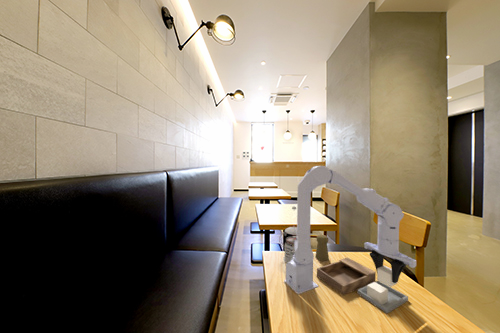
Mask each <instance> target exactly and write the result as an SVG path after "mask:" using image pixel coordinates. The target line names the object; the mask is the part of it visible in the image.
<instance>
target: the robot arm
mask: <svg viewBox="0 0 500 333" xmlns="http://www.w3.org/2000/svg"><path fill="white" fill-rule="evenodd" d="M327 183H328V184H332V185H333V184H334V185H338V186H339V187H340V188H342V189H344V190H345V191H347V192H349V193H350V194H352V195H354V196H355V197H356V201H357V203H360V204H361V205H363V206H364V207H365V208H367V209H369V210H370V211H372V212H373V213H375V214H376V215H377V242H376V243H377V244H375V243H372V242H370V241H369V242H368V241H367V242H364V244H363V245H364V246H363V247H364V249H366V250H370V251H371V252H370V253H369V256H370V257H371V260H372V262H373V263H374V267H375V272H377V268H379V267H382V266H384V262H385V257H387V258H390V259H392V261H390V262H389V263H390V267H391V269H392V282H393V283H396V282H397V283H399V279H400V275H401V273H402V272H403V270H404V269H405V268H406V267H407V266H408V267H409V268H412V269H414V268H416V267H417V260H416V259H414V258H412V257H409V256H408V255H406V254H405V253H404V254H403V253H401V252H400V251H399V250H400V249H399V248H400V247H399V246H400V222H401V221H402V219H403V218H404V217H405V213H404V212H403V210H402V208H401V207H400V206H399V204H395V203H393V202H390V199H389V198H387V197H383V196H382V195H381V194H378V193H377V190H375V189H373V188H369V187H365V188H363V187H360V186H359V185H357V184H355V183H354V182H352V180H350V179H348V178H347V177H345V176H344V175H342V174H341V173H339V172H337V171H335V170H333V169H330V168H328V166H325V165H314V166H312V167H311V168H310V169H308V170H307V171H306V172H305V174H304V176H303V177H302V178H301V180H300V181H299V182H298V184H297V194H296V196H297V199H296V200H297V204H296V205H297V206H296V212H297V213H296V214H297V215H296V222H297V223H296V228H297V235H295V236H296V240H295V241H294V245H293V246H294V248H295V254H294V255H293V259H292V260H291V261H290V262H288V263H286V264H285V279H284V283H285V284H287V285H288V286H289V287H290V288H291V289H292V290H293V291H294V292H295V293H296V294H298V295H300V294H303V293H306V292H307V291H310V290H314V289H316V288H318V287H319V285H318V284H317V283H316V282H314V257H315V255H314V252H313V249H312V241H311V197H312V196H311V194H312V192H313V191H314V190H315V189H316V188H318V187H320V186H323V185H326V184H327Z"/></svg>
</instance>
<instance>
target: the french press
mask: <svg viewBox="0 0 500 333" xmlns="http://www.w3.org/2000/svg"><path fill="white" fill-rule="evenodd" d="M291 210H297V206H292V208H291ZM283 234H284V236H285V242H284V244H283V242H282V240H281V237H282V235H283ZM287 234H288V235H293V236H288V237H286V236H287ZM295 236H297V226H289V227H287V228H285V230H284V232H282V233H281V234H280V235H279V239H278V241H279V244H280V246H281V247H282V248H283V250H284V256H283V257H282V258H283V262H284V263H286V264H287V263H288V262H290V261H291V260H292V259H293V255H294V254H295V248H294V241H295V240H296V237H295Z"/></svg>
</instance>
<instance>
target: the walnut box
mask: <svg viewBox="0 0 500 333" xmlns="http://www.w3.org/2000/svg"><path fill="white" fill-rule="evenodd" d="M316 277H317V278H319V279H320V280H321V281H323V282H324V283H326V284H327V285H329V286H330V287H331V288H332V289H334V290H335V291H337V292H338V293H339V294H341V295H342V296H345V295H347V294H350V293H352V292H354V291H356V290H358V289H360V288H363V287H365V286H367V285H369V284H371V283H373V282H376V277H377V271H376V270H374V269H371V268H369V267H367V266H365V265H363V264H362V263H359V262H357V261H355V260H353V259H351V258H350V257H344V258H340V259H339V261H335V262H333V263H330V264H326V265H323V266H320V267H317V268H316Z"/></svg>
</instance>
